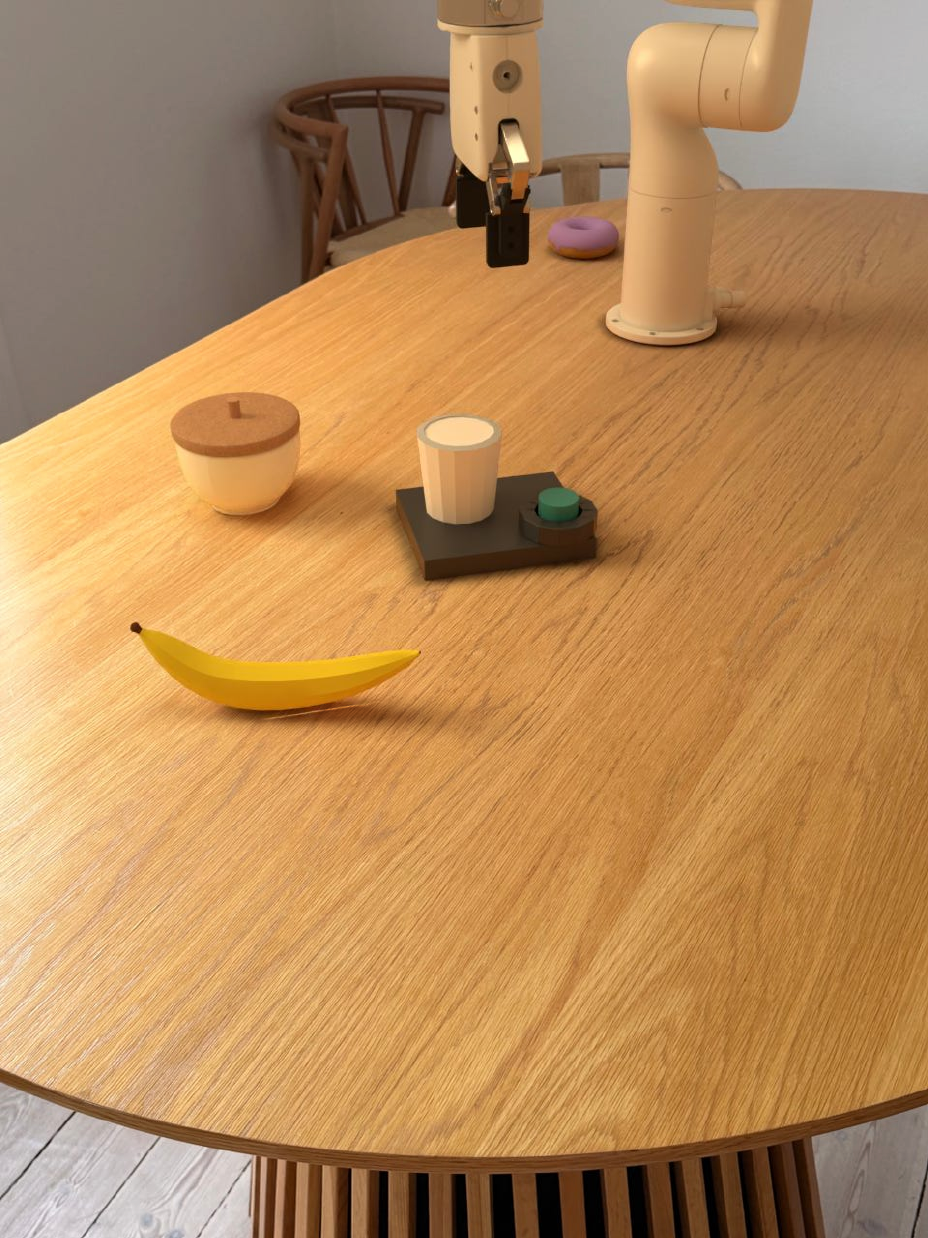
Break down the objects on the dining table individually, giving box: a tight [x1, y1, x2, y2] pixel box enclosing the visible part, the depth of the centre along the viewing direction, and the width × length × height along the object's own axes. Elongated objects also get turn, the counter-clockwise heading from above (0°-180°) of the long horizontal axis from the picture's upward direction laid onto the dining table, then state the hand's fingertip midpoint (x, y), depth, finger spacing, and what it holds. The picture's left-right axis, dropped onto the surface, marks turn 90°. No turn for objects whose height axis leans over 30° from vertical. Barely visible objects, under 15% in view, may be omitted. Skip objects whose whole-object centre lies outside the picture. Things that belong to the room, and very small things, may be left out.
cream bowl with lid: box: [170, 391, 301, 516], centre depth 103 cm, size 11×11×9 cm
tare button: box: [538, 487, 580, 522], centre depth 97 cm, size 3×3×2 cm
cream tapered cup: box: [415, 413, 503, 524], centre depth 99 cm, size 7×7×7 cm
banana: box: [129, 621, 422, 711], centre depth 80 cm, size 3×19×6 cm, turn 86°
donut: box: [547, 215, 620, 260], centre depth 162 cm, size 10×9×5 cm
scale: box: [395, 470, 599, 582], centre depth 100 cm, size 15×12×4 cm
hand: (491, 244), depth 95 cm, fingers open, 9 cm apart
